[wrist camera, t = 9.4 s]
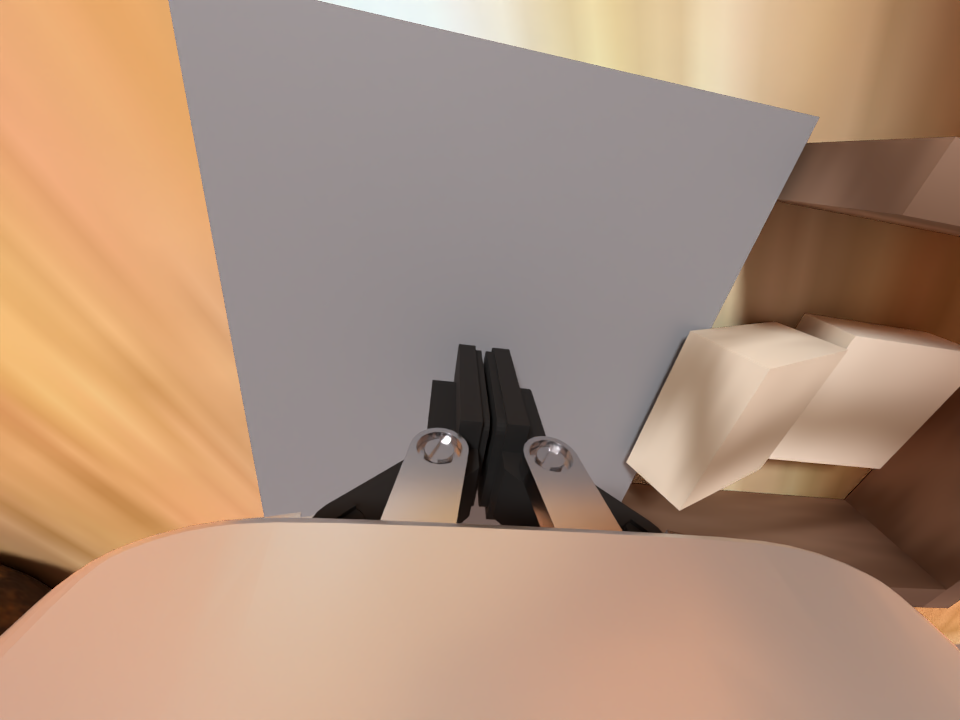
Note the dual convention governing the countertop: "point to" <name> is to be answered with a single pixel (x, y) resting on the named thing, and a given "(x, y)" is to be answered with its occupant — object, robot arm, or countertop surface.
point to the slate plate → (456, 229)
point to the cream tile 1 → (728, 406)
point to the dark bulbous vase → (17, 595)
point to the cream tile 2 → (871, 393)
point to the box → (928, 452)
